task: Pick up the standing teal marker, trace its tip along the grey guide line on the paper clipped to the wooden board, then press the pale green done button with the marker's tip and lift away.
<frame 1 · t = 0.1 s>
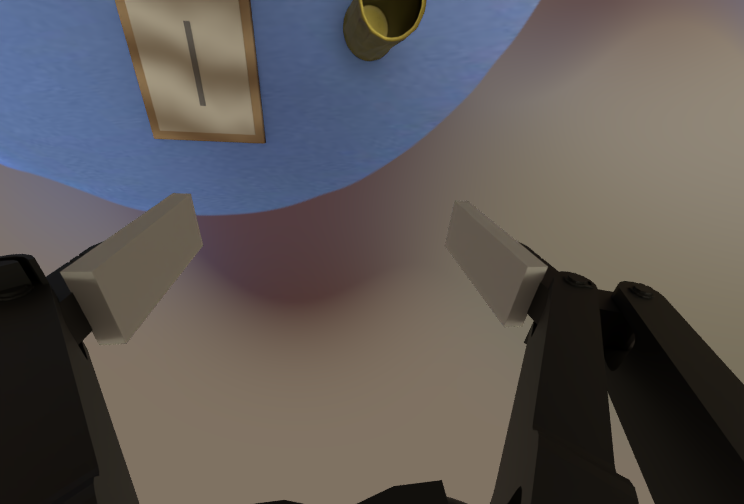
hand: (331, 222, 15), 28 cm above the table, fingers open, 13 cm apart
drawing board: (198, 66, 33), on the table
vase: (369, 30, 34), on the table
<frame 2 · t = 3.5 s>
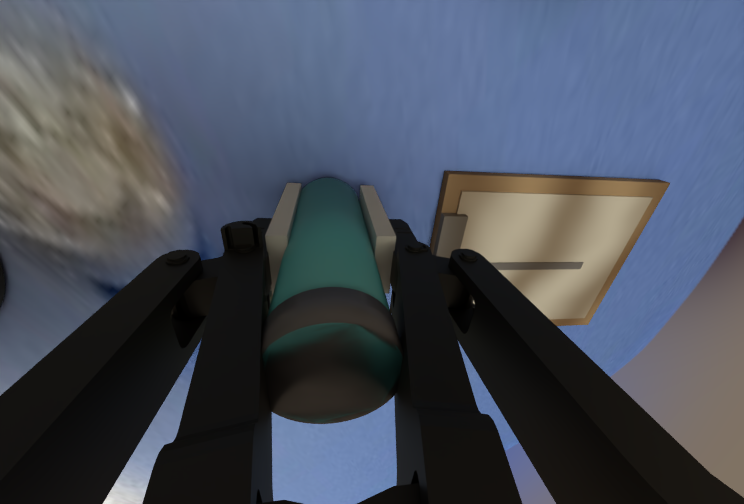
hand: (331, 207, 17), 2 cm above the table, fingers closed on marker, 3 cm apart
done button: (285, 331, 19), point 3 cm above the table, slide at 0.0 cm
drawing board: (526, 258, 23), on the table
marker: (328, 198, 18), on the table, touching gripper
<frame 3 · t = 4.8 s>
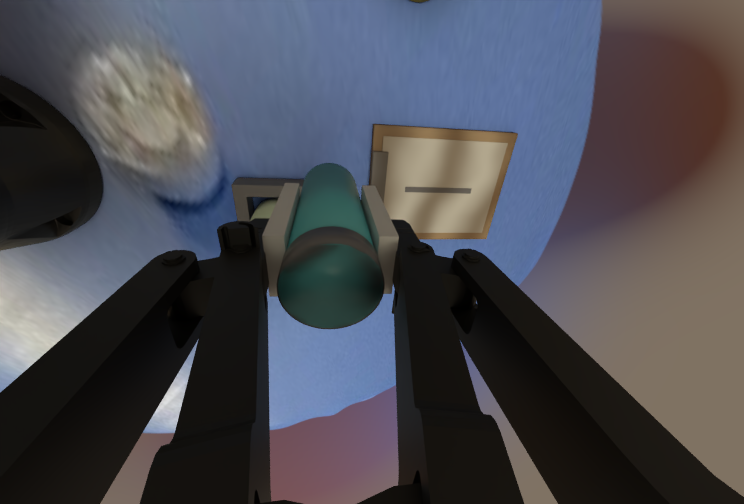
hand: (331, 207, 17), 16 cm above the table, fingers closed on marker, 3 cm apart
done button: (276, 225, 30), point 3 cm above the table, slide at 0.0 cm
button frame: (280, 213, 33), on the table
drawing board: (435, 187, 34), on the table
marker: (329, 182, 21), point 11 cm above the table, touching gripper
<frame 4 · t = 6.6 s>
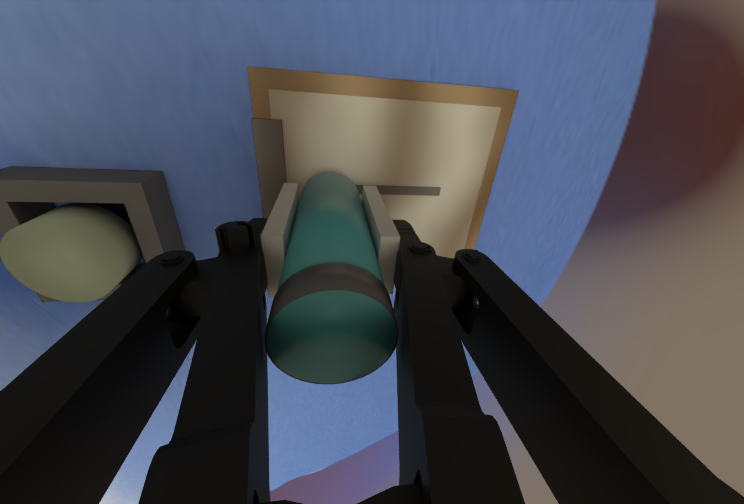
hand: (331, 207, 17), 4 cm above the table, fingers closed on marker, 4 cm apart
done button: (79, 252, 17), point 3 cm above the table, slide at 0.0 cm
button frame: (113, 228, 19), on the table
drawing board: (381, 185, 21), on the table
marker: (330, 191, 19), point 1 cm above the table, touching drawing board, gripper
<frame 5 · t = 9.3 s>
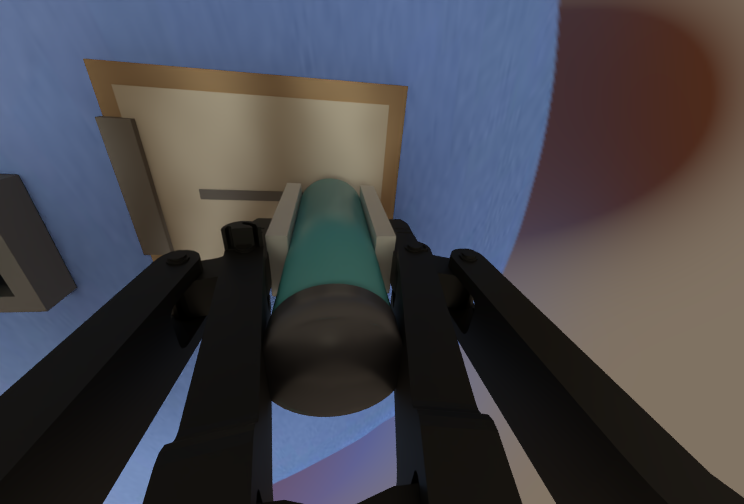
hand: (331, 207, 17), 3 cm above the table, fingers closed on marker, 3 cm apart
drawing board: (272, 190, 19), on the table
marker: (330, 198, 18), point 1 cm above the table, touching gripper
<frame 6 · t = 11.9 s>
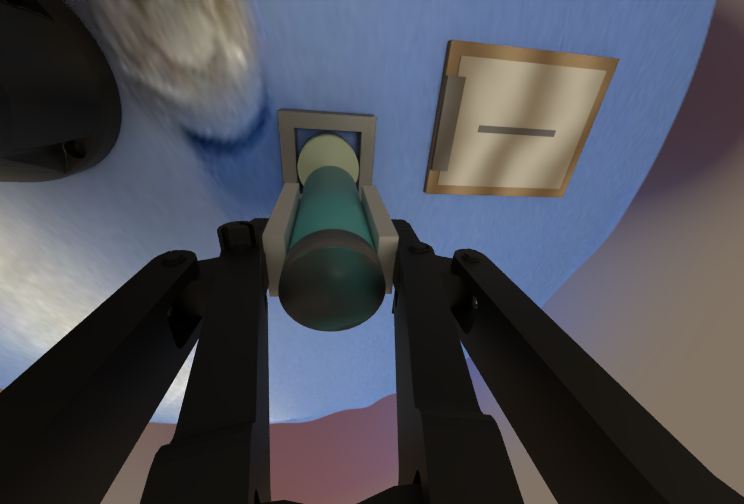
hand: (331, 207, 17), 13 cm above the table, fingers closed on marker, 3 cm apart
done button: (328, 165, 25), point 3 cm above the table, slide at 0.0 cm
button frame: (328, 157, 28), on the table
drawing board: (511, 129, 29), on the table
marker: (330, 184, 21), point 8 cm above the table, touching gripper
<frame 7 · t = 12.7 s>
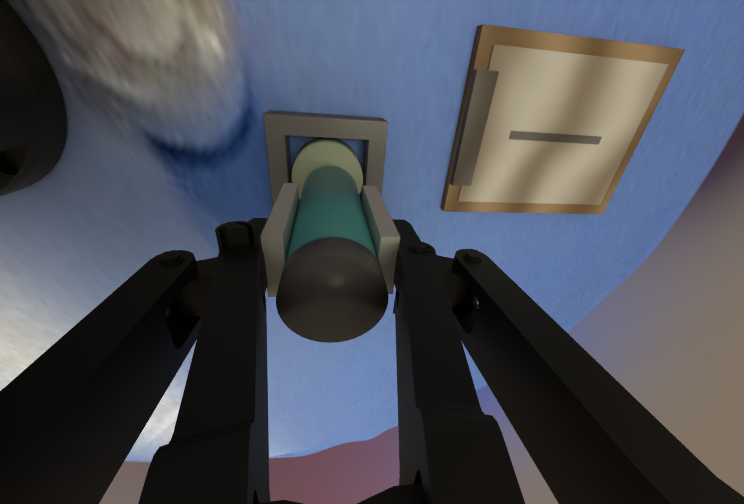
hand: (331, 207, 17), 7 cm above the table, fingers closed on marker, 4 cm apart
done button: (327, 174, 22), point 1 cm above the table, slide at 1.8 cm, touching marker
button frame: (327, 169, 23), on the table
drawing board: (547, 135, 24), on the table
marker: (330, 184, 21), point 3 cm above the table, touching done button, gripper
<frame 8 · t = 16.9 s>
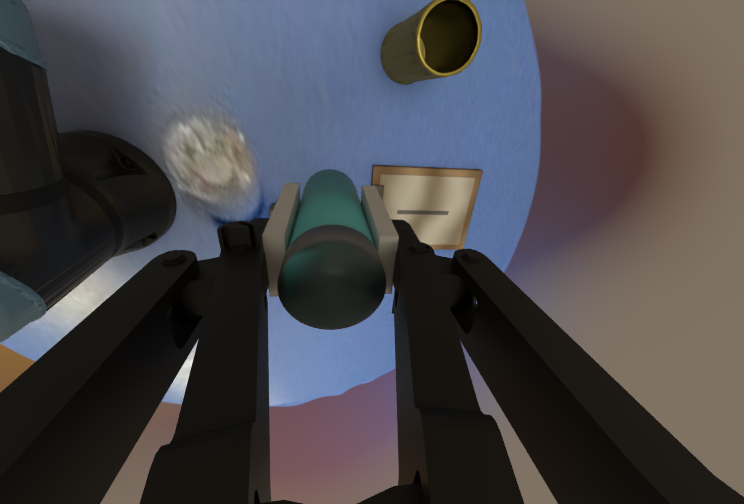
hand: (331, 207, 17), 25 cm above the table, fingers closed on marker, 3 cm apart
drawing board: (421, 210, 45), on the table
marker: (330, 189, 21), point 20 cm above the table, touching gripper
vase: (405, 54, 35), on the table
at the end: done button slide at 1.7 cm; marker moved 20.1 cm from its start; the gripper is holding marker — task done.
